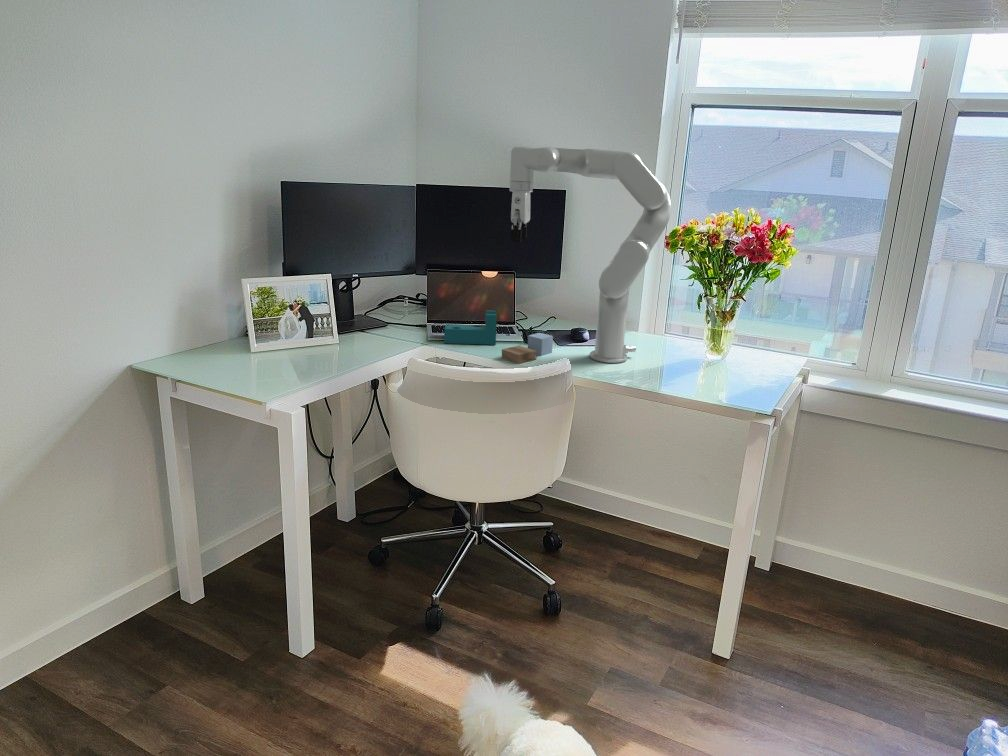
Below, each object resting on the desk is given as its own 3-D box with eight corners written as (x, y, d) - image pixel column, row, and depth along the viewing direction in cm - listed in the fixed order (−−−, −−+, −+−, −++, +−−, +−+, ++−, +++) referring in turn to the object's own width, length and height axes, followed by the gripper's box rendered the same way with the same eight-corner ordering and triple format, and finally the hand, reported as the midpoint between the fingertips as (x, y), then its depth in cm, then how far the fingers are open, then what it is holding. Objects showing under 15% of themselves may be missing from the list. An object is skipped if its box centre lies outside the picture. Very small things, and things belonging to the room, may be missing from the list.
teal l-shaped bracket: (494, 339, 266) (495, 310, 264) (495, 344, 256) (496, 315, 253) (445, 337, 265) (446, 309, 263) (444, 343, 255) (444, 313, 253)
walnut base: (519, 353, 247) (519, 345, 246) (535, 359, 242) (536, 350, 241) (501, 357, 242) (502, 349, 241) (518, 363, 236) (518, 354, 236)
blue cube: (538, 349, 254) (539, 332, 252) (551, 353, 250) (553, 336, 248) (527, 352, 250) (528, 335, 248) (541, 356, 246) (542, 339, 244)
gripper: (528, 189, 227) (525, 244, 232) (537, 186, 243) (534, 237, 249) (504, 187, 228) (502, 242, 234) (514, 184, 244) (512, 236, 250)
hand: (518, 240), depth 241 cm, fingers open, 9 cm apart
